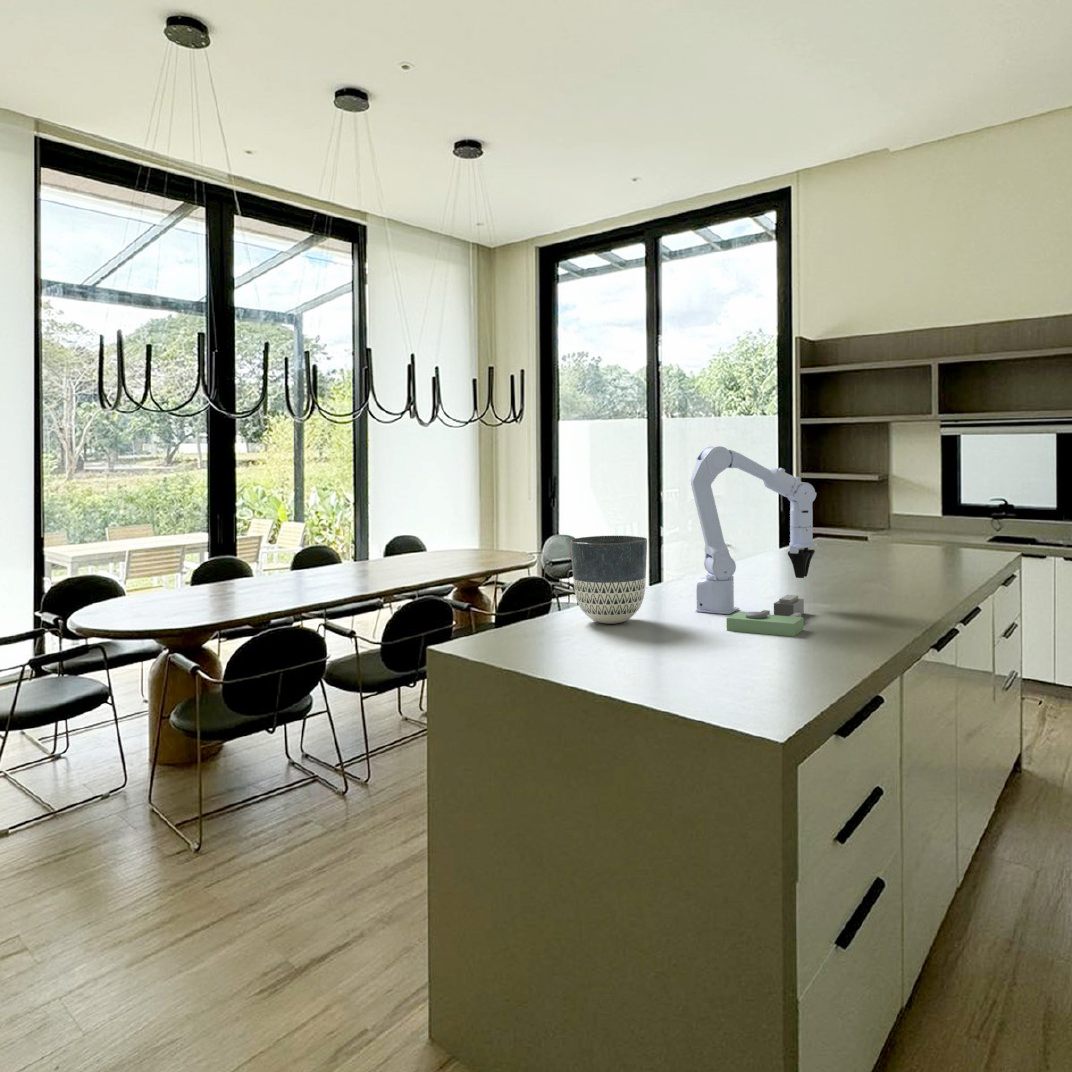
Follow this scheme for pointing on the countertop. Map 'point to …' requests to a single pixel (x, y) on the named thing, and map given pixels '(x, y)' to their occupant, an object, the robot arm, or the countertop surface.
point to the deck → (766, 623)
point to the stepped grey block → (789, 605)
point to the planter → (609, 576)
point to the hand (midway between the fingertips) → (801, 577)
